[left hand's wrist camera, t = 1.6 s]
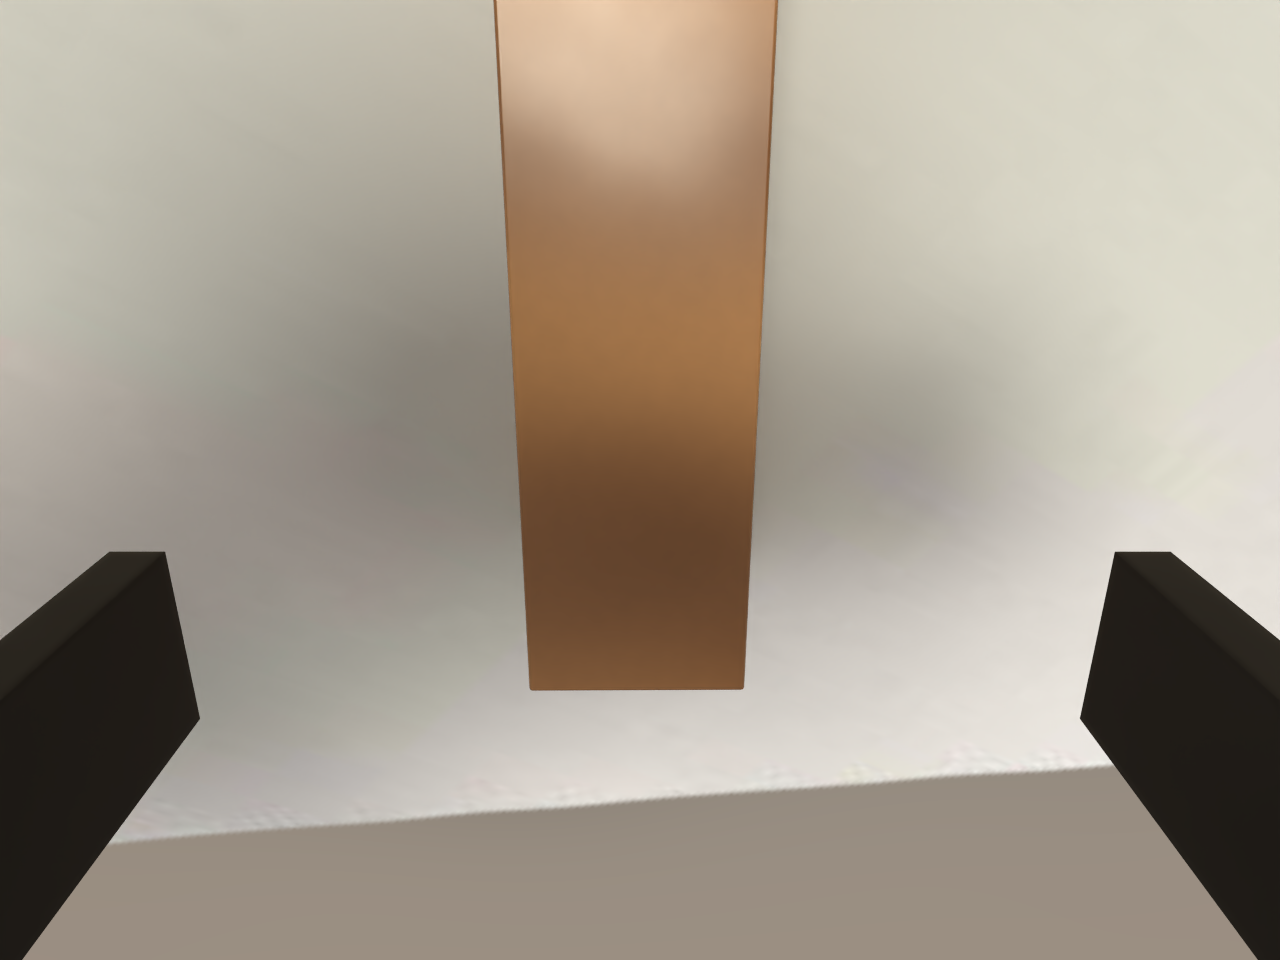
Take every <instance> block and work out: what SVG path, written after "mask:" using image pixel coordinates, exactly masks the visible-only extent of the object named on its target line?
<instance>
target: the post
mask: <svg viewBox="0 0 1280 960" xmlns="http://www.w3.org/2000/svg"><path fill="white" fill-rule="evenodd" d="M777 12H778V0H494V19H495V38H496V57H497V76H498V95H499V114H500V133H501V152H502V171H503V190H504V209H505V228H506V248H507V267H508V286H509V305H510V324H511V343H512V362H513V381H514V400H515V419H516V438H517V457H518V476H519V495H520V514H521V533H522V552H523V571H524V591H525V610H526V629H527V648H528V667H529V686H530V689H531V690H741V689H743V688H744V678H745V658H746V638H747V618H748V598H749V577H750V557H751V537H752V517H753V497H754V476H755V456H756V436H757V416H758V396H759V376H760V355H761V335H762V315H763V295H764V275H765V255H766V234H767V214H768V194H769V174H770V154H771V133H772V113H773V93H774V73H775V53H776V33H777Z"/></svg>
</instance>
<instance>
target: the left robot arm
mask: <svg viewBox="0 0 1280 960" xmlns="http://www.w3.org/2000/svg"><path fill="white" fill-rule="evenodd" d="M199 719H200V716H199V711H198V707H197V702H196V697H195V692H194V688H193V683H192V678H191V673H190V669H189V664H188V659H187V654H186V650H185V645H184V640H183V635H182V630H181V626H180V621H179V616H178V611H177V607H176V602H175V597H174V592H173V588H172V583H171V578H170V573H169V569H168V564H167V559H166V554H165V552H109V553H107V554H106V555H105V556H104V557H102V558H101V559H100V560H99V561H98V562H96V563H95V564H94V565H93V566H91V567H90V568H89V569H88V570H86V571H85V572H84V573H83V574H81V575H80V576H79V577H78V578H77V579H75V580H74V581H73V582H72V583H70V584H69V585H68V586H67V587H65V588H64V589H63V590H62V591H60V592H59V593H58V594H57V595H56V596H54V597H53V598H52V599H51V600H49V601H48V602H47V603H46V604H44V605H43V606H42V607H41V608H39V609H38V610H37V611H36V612H35V613H33V614H32V615H31V616H30V617H28V618H27V619H26V620H25V621H23V622H22V623H21V624H20V625H18V626H17V627H16V628H15V629H14V630H12V631H11V632H10V633H9V634H7V635H6V636H5V637H4V638H2V639H1V640H0V960H22V959H23V958H24V956H25V955H26V954H27V952H28V951H29V950H30V948H31V947H32V946H33V944H34V943H35V942H36V940H37V939H38V937H39V936H40V935H41V933H42V932H43V931H44V929H45V928H46V927H47V925H48V924H49V923H50V921H51V920H52V918H53V917H54V916H55V914H56V913H57V912H58V910H59V909H60V908H61V906H62V905H63V904H64V902H65V901H66V900H67V898H68V897H69V896H70V894H71V893H72V891H73V890H74V889H75V887H76V886H77V885H78V883H79V882H80V881H81V879H82V878H83V876H84V875H85V874H86V872H87V871H88V870H89V868H90V867H91V866H92V864H93V863H94V862H95V860H96V859H97V858H98V856H99V855H100V853H101V852H102V851H103V849H104V848H105V847H106V845H107V844H108V843H109V841H110V840H111V839H112V837H113V836H114V835H115V833H116V832H117V830H118V829H119V828H120V826H121V825H122V824H123V822H124V821H125V820H126V818H127V817H128V816H129V814H130V813H131V811H132V810H133V809H134V807H135V806H136V805H137V803H138V802H139V801H140V799H141V798H142V797H143V795H144V794H145V793H146V791H147V790H148V788H149V787H150V786H151V784H152V783H153V782H154V780H155V779H156V778H157V776H158V775H159V774H160V772H161V771H162V769H163V768H164V767H165V765H166V764H167V763H168V761H169V760H170V759H171V757H172V756H173V755H174V753H175V752H176V750H177V749H178V748H179V746H180V745H181V744H182V742H183V741H184V740H185V738H186V737H187V736H188V734H189V733H190V732H191V730H192V729H193V727H194V726H195V725H196V723H197V722H198V721H199ZM1080 719H1081V721H1082V722H1083V723H1084V725H1085V726H1086V727H1087V729H1088V730H1089V732H1090V733H1091V734H1092V736H1093V737H1094V738H1095V740H1096V741H1097V742H1098V744H1099V745H1100V746H1101V748H1102V749H1103V750H1104V752H1105V753H1106V755H1107V756H1108V757H1109V759H1110V760H1111V761H1112V763H1113V764H1114V765H1115V767H1116V768H1117V769H1118V771H1119V772H1120V774H1121V775H1122V776H1123V778H1124V779H1125V780H1126V782H1127V783H1128V784H1129V786H1130V787H1131V788H1132V790H1133V791H1134V793H1135V794H1136V795H1137V797H1138V798H1139V799H1140V801H1141V802H1142V803H1143V805H1144V806H1145V807H1146V809H1147V810H1148V811H1149V813H1150V814H1151V816H1152V817H1153V818H1154V820H1155V821H1156V822H1157V824H1158V825H1159V826H1160V828H1161V829H1162V830H1163V832H1164V833H1165V835H1166V836H1167V837H1168V838H1169V840H1170V841H1171V843H1172V844H1173V845H1174V847H1175V848H1176V849H1177V851H1178V852H1179V853H1180V855H1181V856H1182V858H1183V859H1184V860H1185V862H1186V863H1187V864H1188V866H1189V867H1190V868H1191V870H1192V871H1193V872H1194V874H1195V875H1196V876H1197V878H1198V879H1199V881H1200V882H1201V883H1202V885H1203V886H1204V887H1205V889H1206V890H1207V891H1208V893H1209V894H1210V896H1211V897H1212V898H1213V899H1214V901H1215V902H1216V904H1217V905H1218V906H1219V908H1220V909H1221V910H1222V912H1223V913H1224V914H1225V916H1226V917H1227V919H1228V920H1229V921H1230V923H1231V924H1232V925H1233V927H1234V928H1235V929H1236V931H1237V932H1238V933H1239V935H1240V936H1241V938H1242V939H1243V940H1244V942H1245V943H1246V944H1247V946H1248V947H1249V948H1250V950H1251V951H1252V952H1253V954H1254V955H1255V956H1256V958H1257V959H1258V960H1280V640H1279V639H1278V638H1276V637H1275V636H1274V635H1273V634H1271V633H1270V632H1269V631H1268V630H1266V629H1265V628H1264V627H1263V626H1262V625H1260V624H1259V623H1258V622H1257V621H1255V620H1254V619H1253V618H1252V617H1250V616H1249V615H1248V614H1247V613H1245V612H1244V611H1243V610H1242V609H1241V608H1239V607H1238V606H1237V605H1236V604H1234V603H1233V602H1232V601H1231V600H1229V599H1228V598H1227V597H1226V596H1224V595H1223V594H1222V593H1221V592H1220V591H1218V590H1217V589H1216V588H1215V587H1213V586H1212V585H1211V584H1210V583H1208V582H1207V581H1206V580H1205V579H1203V578H1202V577H1201V576H1200V575H1199V574H1197V573H1196V572H1195V571H1194V570H1192V569H1191V568H1190V567H1189V566H1187V565H1186V564H1185V563H1184V562H1182V561H1181V560H1180V559H1179V558H1178V557H1176V556H1175V555H1174V554H1173V553H1171V552H1115V554H1114V559H1113V564H1112V569H1111V573H1110V578H1109V583H1108V588H1107V592H1106V597H1105V602H1104V607H1103V611H1102V616H1101V621H1100V626H1099V630H1098V635H1097V640H1096V645H1095V650H1094V654H1093V659H1092V664H1091V669H1090V673H1089V678H1088V683H1087V688H1086V692H1085V697H1084V702H1083V707H1082V711H1081V716H1080Z"/></svg>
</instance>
